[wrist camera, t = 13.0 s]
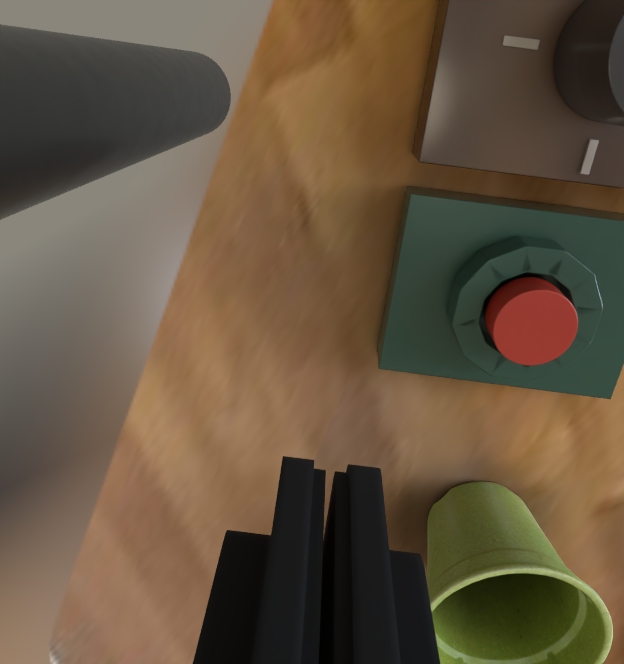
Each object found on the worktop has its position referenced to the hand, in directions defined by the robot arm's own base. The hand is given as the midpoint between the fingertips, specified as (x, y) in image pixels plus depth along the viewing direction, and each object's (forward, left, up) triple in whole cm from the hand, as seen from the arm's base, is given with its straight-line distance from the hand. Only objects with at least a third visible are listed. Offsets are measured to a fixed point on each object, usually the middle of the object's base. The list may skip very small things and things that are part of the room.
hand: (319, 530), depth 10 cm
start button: (+9, -2, -18) cm, 20 cm away
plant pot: (+11, -17, -22) cm, 30 cm away
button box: (+9, -2, -21) cm, 23 cm away
